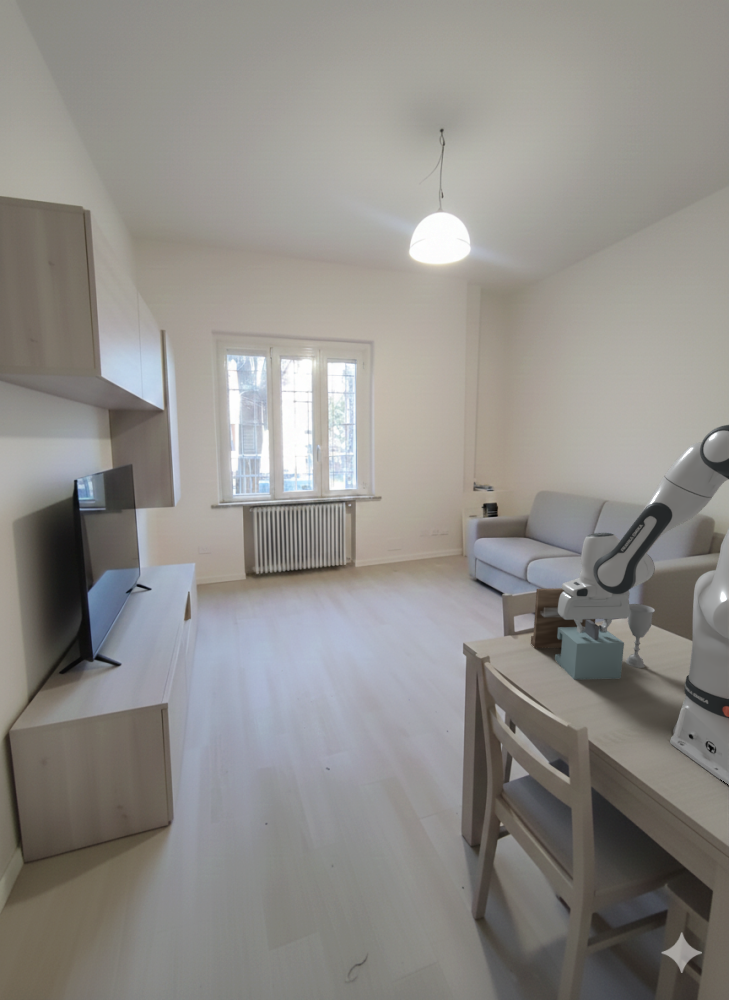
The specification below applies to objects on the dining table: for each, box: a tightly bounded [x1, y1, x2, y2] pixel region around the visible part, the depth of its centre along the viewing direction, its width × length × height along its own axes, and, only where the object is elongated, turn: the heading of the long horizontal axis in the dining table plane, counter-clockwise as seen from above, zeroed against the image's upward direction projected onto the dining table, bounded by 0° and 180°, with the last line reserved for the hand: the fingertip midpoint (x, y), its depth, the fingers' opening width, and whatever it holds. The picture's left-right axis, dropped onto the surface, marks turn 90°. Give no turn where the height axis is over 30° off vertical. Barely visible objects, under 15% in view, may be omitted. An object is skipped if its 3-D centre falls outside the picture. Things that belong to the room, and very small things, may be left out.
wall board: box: [530, 587, 596, 649], centre depth 146 cm, size 6×20×20 cm, turn 94°
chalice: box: [625, 603, 656, 669], centre depth 136 cm, size 7×7×18 cm
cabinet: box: [554, 620, 625, 680], centre depth 133 cm, size 11×14×15 cm
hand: (591, 632), depth 132 cm, fingers open, 5 cm apart
